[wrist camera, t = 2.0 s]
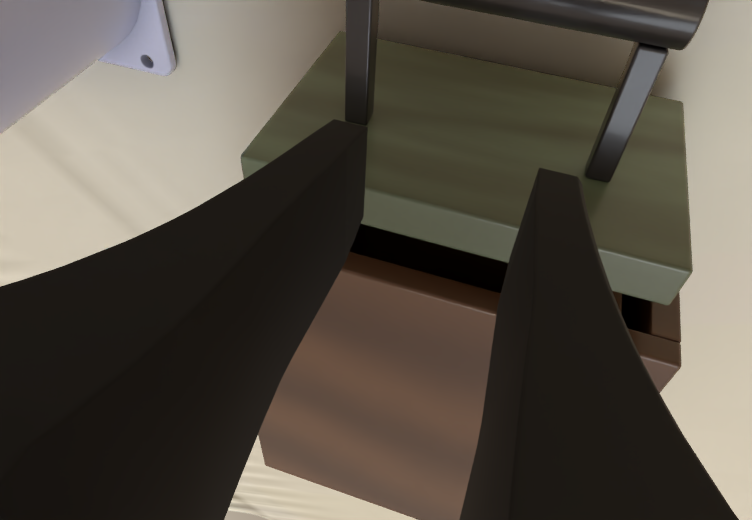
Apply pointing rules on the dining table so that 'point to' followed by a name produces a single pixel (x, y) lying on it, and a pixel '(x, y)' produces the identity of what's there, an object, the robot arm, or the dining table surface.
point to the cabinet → (408, 385)
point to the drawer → (506, 143)
